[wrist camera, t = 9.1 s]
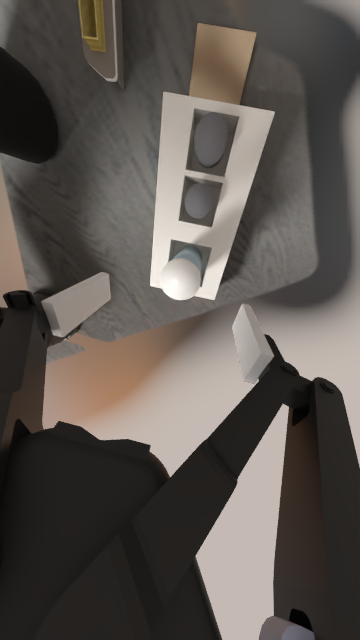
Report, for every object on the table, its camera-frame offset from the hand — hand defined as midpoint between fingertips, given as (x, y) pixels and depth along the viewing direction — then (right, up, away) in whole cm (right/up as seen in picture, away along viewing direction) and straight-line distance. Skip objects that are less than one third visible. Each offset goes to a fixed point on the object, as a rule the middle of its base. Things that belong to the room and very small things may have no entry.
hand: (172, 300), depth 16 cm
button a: (+4, +17, +11) cm, 21 cm away
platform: (-8, +35, +5) cm, 36 cm away
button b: (+5, +22, +8) cm, 24 cm away
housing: (+4, +16, +14) cm, 22 cm away
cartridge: (+3, +11, +17) cm, 20 cm away
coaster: (+6, +30, +5) cm, 31 cm away
